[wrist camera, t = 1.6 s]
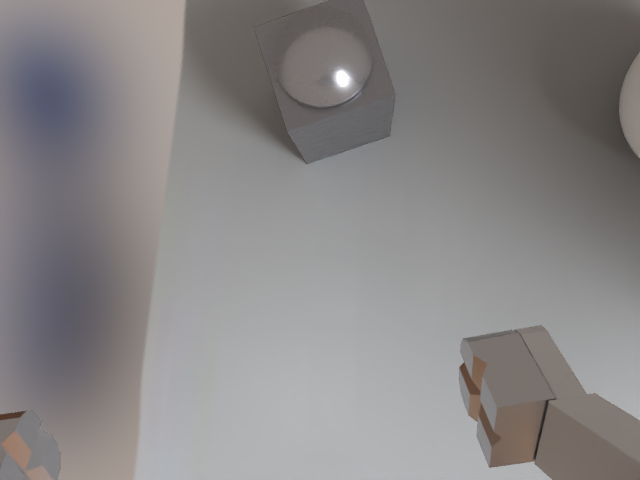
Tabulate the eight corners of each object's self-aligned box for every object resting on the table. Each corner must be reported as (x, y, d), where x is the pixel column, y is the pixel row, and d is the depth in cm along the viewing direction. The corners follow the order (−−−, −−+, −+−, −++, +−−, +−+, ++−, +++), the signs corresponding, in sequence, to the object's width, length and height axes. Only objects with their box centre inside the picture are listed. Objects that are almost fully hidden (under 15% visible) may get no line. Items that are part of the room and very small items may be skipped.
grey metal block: (362, 54, 38) (359, -17, 28) (389, 135, 37) (396, 90, 28) (281, 83, 38) (251, 22, 29) (307, 163, 38) (285, 128, 28)
